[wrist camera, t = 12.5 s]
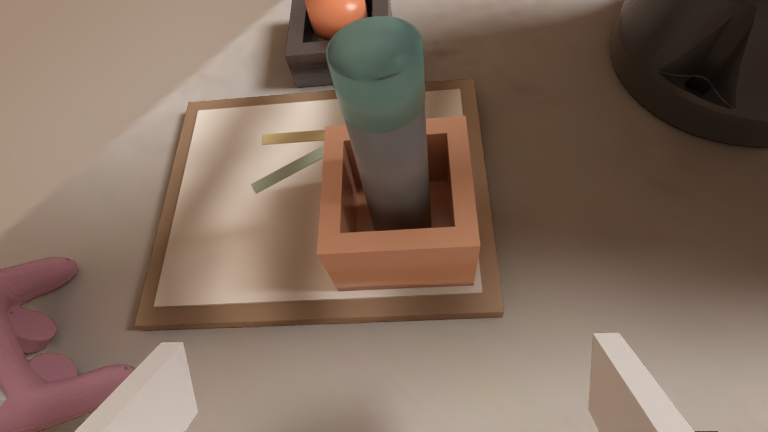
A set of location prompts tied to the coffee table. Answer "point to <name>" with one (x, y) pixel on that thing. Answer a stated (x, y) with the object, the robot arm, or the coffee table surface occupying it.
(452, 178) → the pen cup
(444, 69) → the coffee table surface
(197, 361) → the coffee table surface
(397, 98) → the marker
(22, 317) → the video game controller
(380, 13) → the button housing
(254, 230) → the board
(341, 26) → the button
